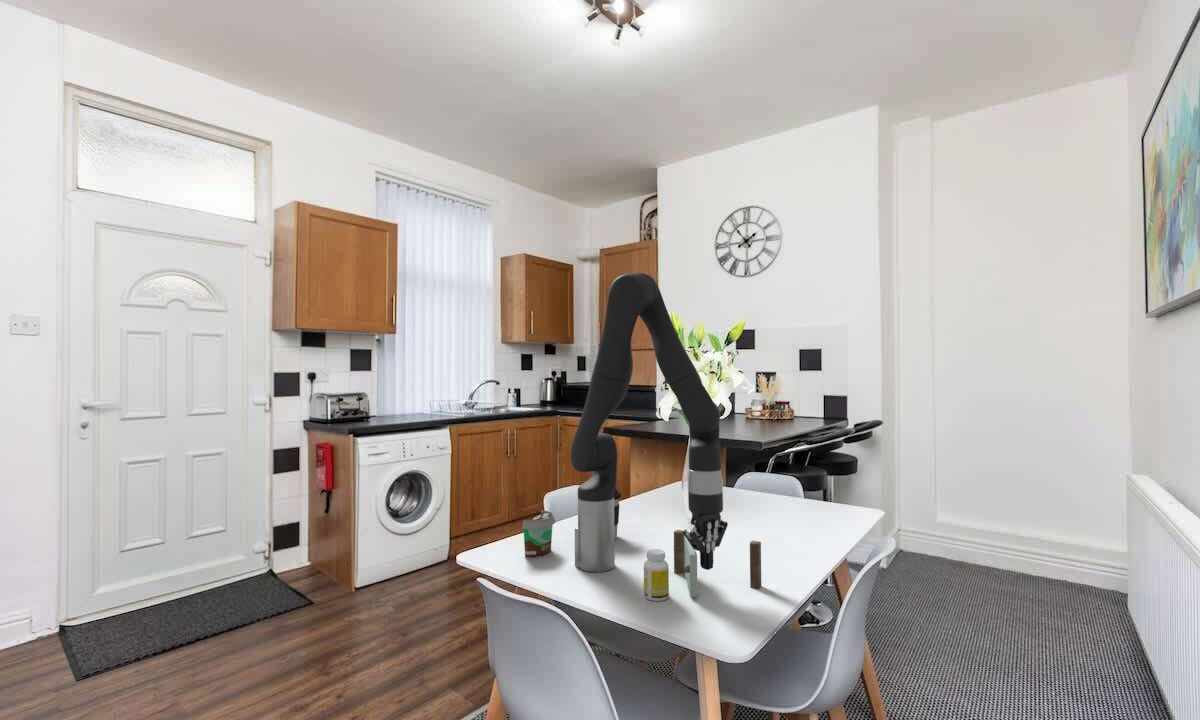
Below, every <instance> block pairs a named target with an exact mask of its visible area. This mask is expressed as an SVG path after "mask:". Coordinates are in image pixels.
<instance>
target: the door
mask: <svg viewBox="0 0 1200 720" xmlns="http://www.w3.org/2000/svg"><path fill="white" fill-rule="evenodd" d="M684 576H685V580H686V584H687V588H688V593H689V597H690V598H699V597H698V594H699V593H698V553H697V550H694V549H693V548H692V546H691V545H690V543H689V541H688V540H687V538H686V537H685V536H684Z"/></svg>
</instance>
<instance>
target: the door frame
mask: <svg viewBox="0 0 1200 720" xmlns="http://www.w3.org/2000/svg"><path fill="white" fill-rule="evenodd" d="M684 536H685V535H684V530H683V529H676V530H674V531H673V573H674V574H676V575H677V574H679V575H683V574H685V572H684ZM749 578H750V579H749V586H750V588H752V589H757V590H760V589H761V587H762V542H761V541H757V540H751V541H750V542H749Z"/></svg>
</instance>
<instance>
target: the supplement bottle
mask: <svg viewBox="0 0 1200 720" xmlns="http://www.w3.org/2000/svg"><path fill="white" fill-rule="evenodd" d="M646 559H647V560H645V561H644V562H643V563H644V564H643V596H644V598H645V599H647V600H648V601H652V602H663V601H666V600H667V599H668V598H669V595H670V592H669V591H670V587H669V586H670V585H669V583H670V580H669V579H670V578H669V577H670V572H669V564H668V562H667V561H666V560H665V559H666V551H665V550H664V549H660V548H651V549H647V551H646Z"/></svg>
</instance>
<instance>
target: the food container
mask: <svg viewBox="0 0 1200 720" xmlns="http://www.w3.org/2000/svg"><path fill="white" fill-rule="evenodd" d="M555 523H556V519H555V516H554V514H553V512H551V511H549V510H544V509H543V510H542V509H541V510H540V514H538V515H535V516H532V517H531V518H530V519H529V520H526V519H524V520H523V522H522V529H523V542H524V544H523V545H524V558H529V557H530V558H540V557H539V556H541V557H545V556H548V555H549V554H551V552H552V541H553V540H552V537H553V525H554V524H555ZM547 554H548V555H547ZM544 555H545V556H544Z"/></svg>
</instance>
